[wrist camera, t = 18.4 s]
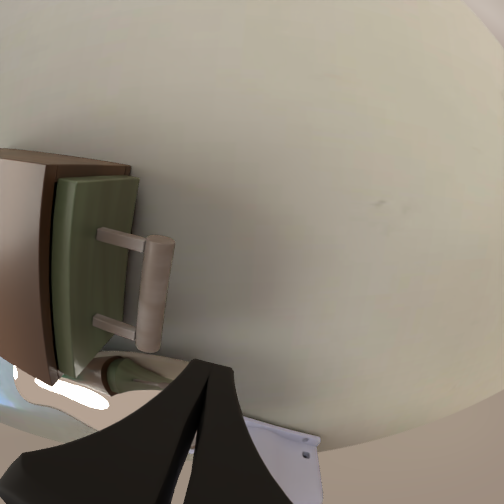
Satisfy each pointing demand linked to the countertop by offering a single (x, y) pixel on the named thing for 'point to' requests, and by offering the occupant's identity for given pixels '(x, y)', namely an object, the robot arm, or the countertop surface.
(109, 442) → the robot arm
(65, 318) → the drawer
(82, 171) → the cabinet
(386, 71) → the countertop surface
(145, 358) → the beige cup
